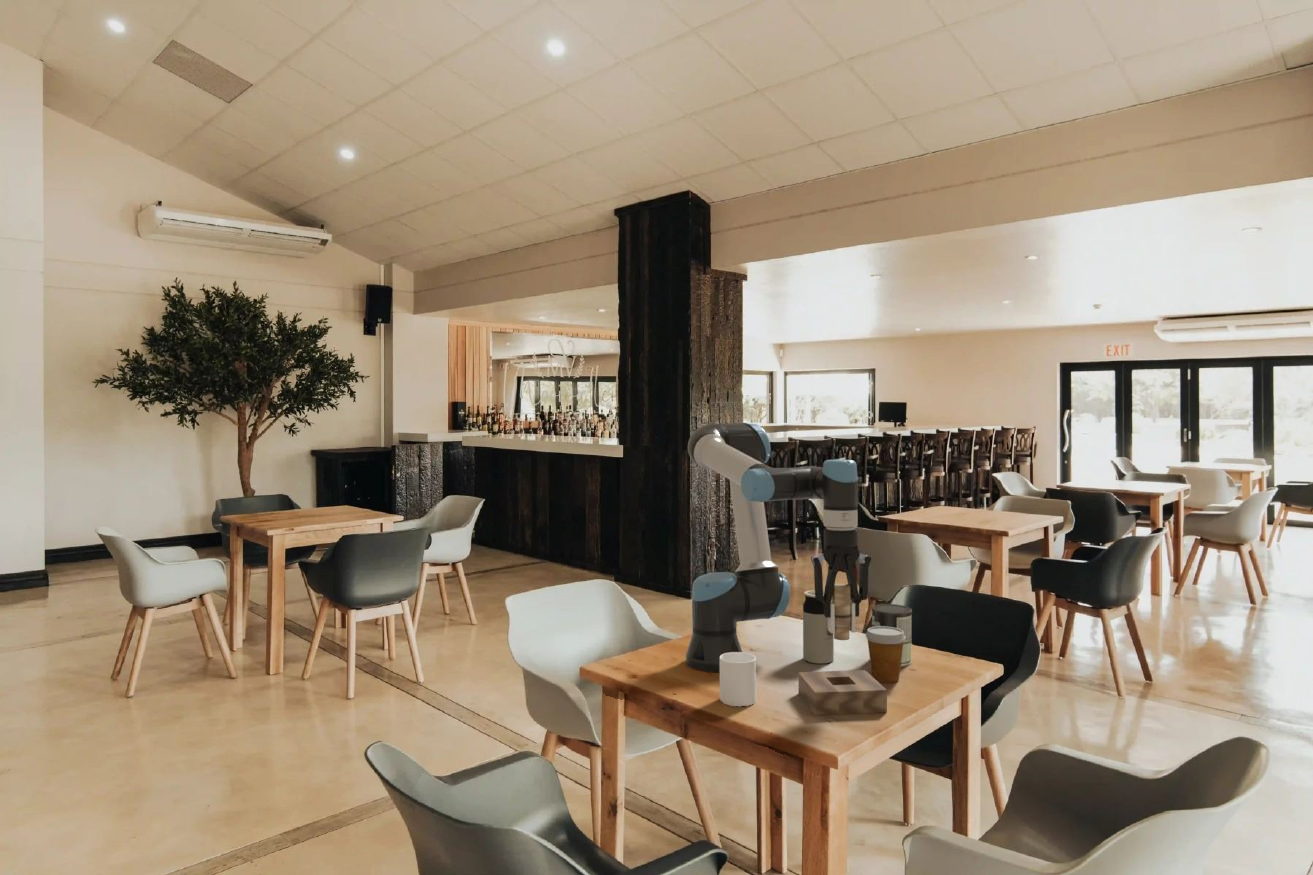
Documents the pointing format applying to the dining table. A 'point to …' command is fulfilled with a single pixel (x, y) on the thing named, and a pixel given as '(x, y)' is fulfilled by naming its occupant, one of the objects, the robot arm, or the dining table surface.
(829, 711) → the board
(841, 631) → the peg
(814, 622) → the travel mug
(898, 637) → the disposable coffee cup
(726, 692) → the cup
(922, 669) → the dining table surface
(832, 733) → the dining table surface
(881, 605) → the coffee can
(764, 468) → the robot arm
